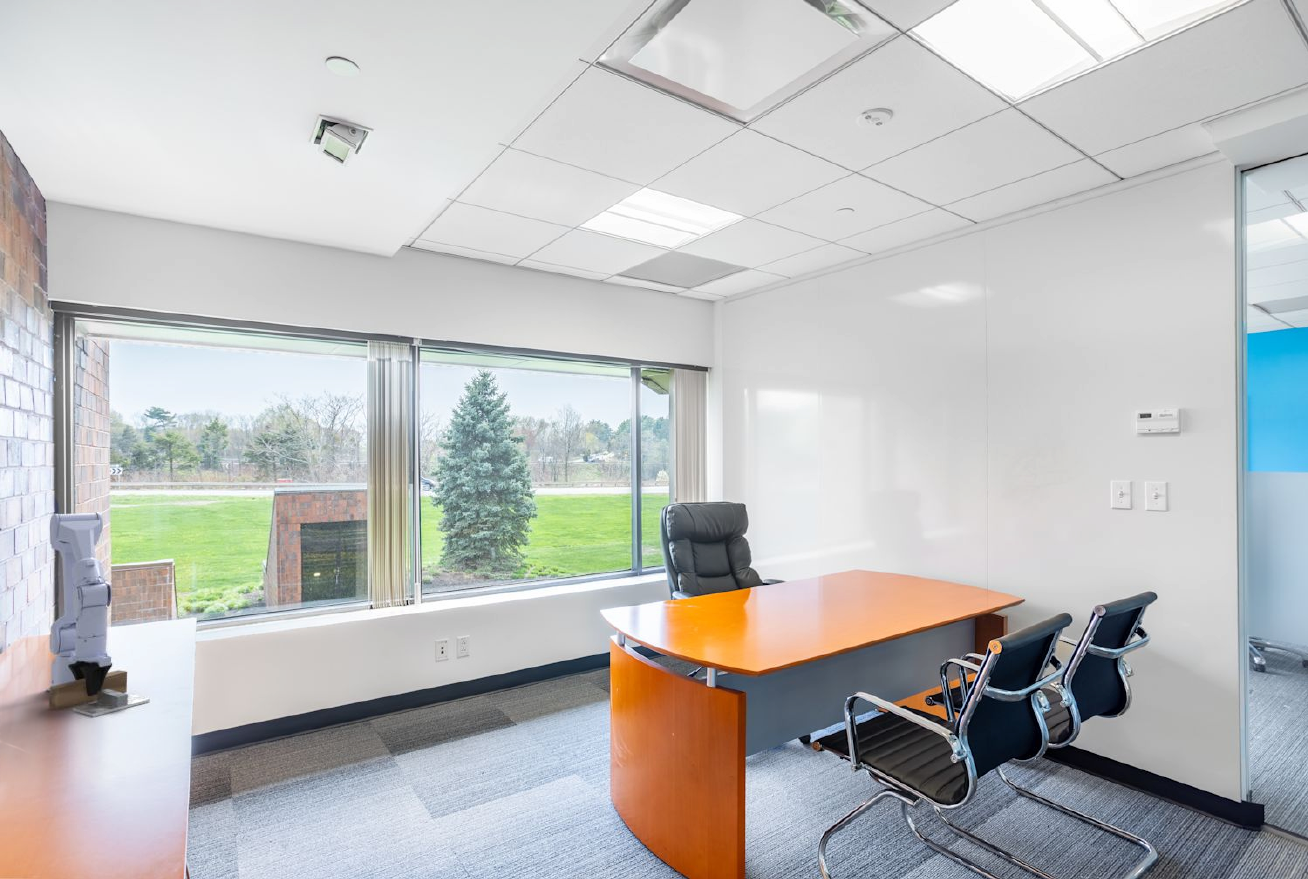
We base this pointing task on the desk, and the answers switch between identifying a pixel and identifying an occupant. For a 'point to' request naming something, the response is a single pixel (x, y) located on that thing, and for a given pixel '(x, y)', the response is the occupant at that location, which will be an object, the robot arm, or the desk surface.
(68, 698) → the walnut rod
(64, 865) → the desk surface
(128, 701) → the balance stand
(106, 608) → the robot arm
